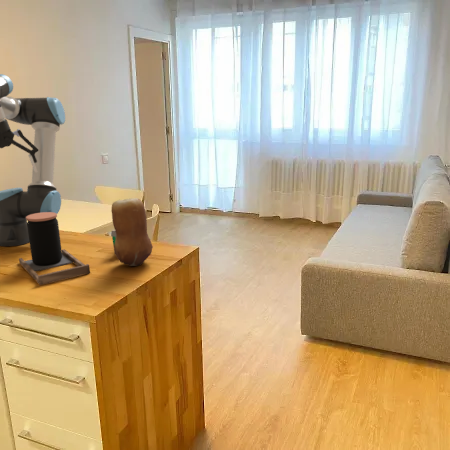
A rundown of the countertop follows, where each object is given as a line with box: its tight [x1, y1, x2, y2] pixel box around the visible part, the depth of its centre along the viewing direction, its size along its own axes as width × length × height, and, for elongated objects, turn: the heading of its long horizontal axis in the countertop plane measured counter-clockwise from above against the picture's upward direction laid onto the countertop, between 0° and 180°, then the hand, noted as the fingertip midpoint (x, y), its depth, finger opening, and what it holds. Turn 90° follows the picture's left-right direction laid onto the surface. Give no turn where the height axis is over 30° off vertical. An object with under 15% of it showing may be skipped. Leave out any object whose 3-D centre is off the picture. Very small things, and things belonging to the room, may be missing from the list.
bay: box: [18, 249, 91, 286], centre depth 162 cm, size 28×17×3 cm, turn 37°
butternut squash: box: [110, 197, 154, 267], centre depth 160 cm, size 14×13×25 cm
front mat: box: [24, 254, 74, 272], centre depth 168 cm, size 13×15×1 cm
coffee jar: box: [26, 212, 63, 266], centre depth 166 cm, size 11×11×18 cm
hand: (17, 177), depth 165 cm, fingers open, 13 cm apart
